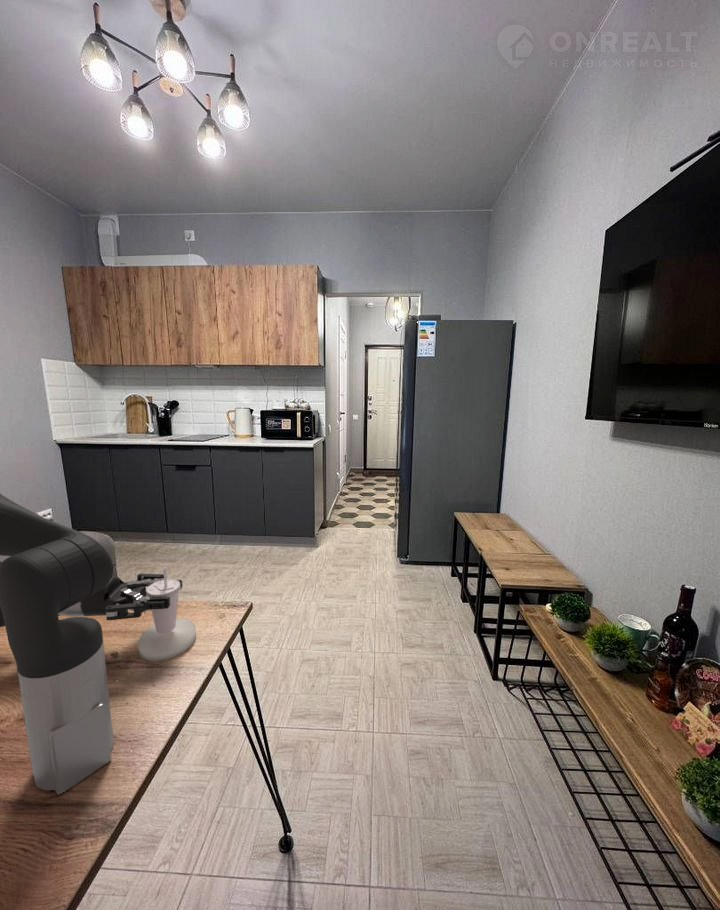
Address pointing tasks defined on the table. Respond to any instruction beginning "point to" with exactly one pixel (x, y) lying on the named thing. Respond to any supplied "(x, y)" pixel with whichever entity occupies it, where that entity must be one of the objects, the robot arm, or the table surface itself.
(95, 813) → the table surface
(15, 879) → the table surface
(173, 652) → the trivet
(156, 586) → the smoothie
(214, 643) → the table surface
